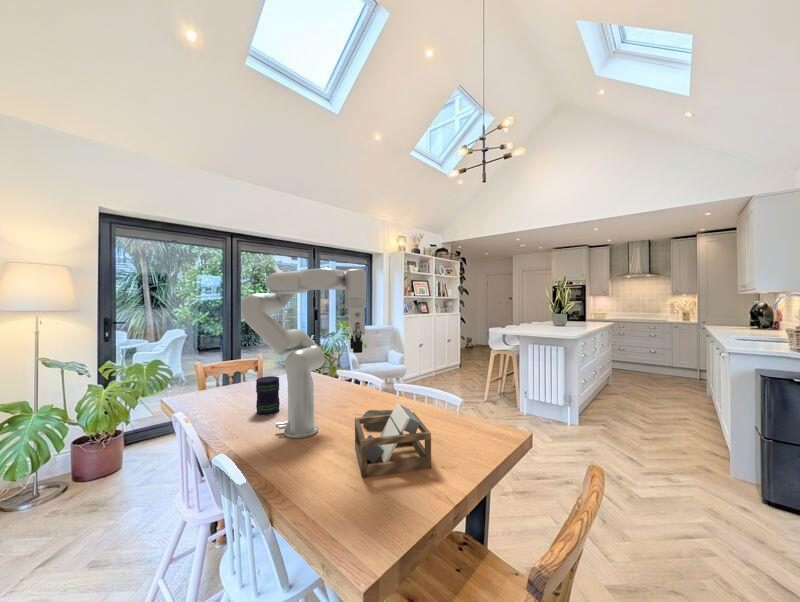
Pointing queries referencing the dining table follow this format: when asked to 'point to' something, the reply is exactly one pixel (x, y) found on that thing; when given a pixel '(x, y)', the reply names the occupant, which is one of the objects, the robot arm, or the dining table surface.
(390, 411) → the marble piece
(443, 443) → the dining table surface
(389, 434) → the hatch leaf
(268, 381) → the storage jar
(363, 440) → the walnut hatch frame
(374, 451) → the basalt block
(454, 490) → the dining table surface
